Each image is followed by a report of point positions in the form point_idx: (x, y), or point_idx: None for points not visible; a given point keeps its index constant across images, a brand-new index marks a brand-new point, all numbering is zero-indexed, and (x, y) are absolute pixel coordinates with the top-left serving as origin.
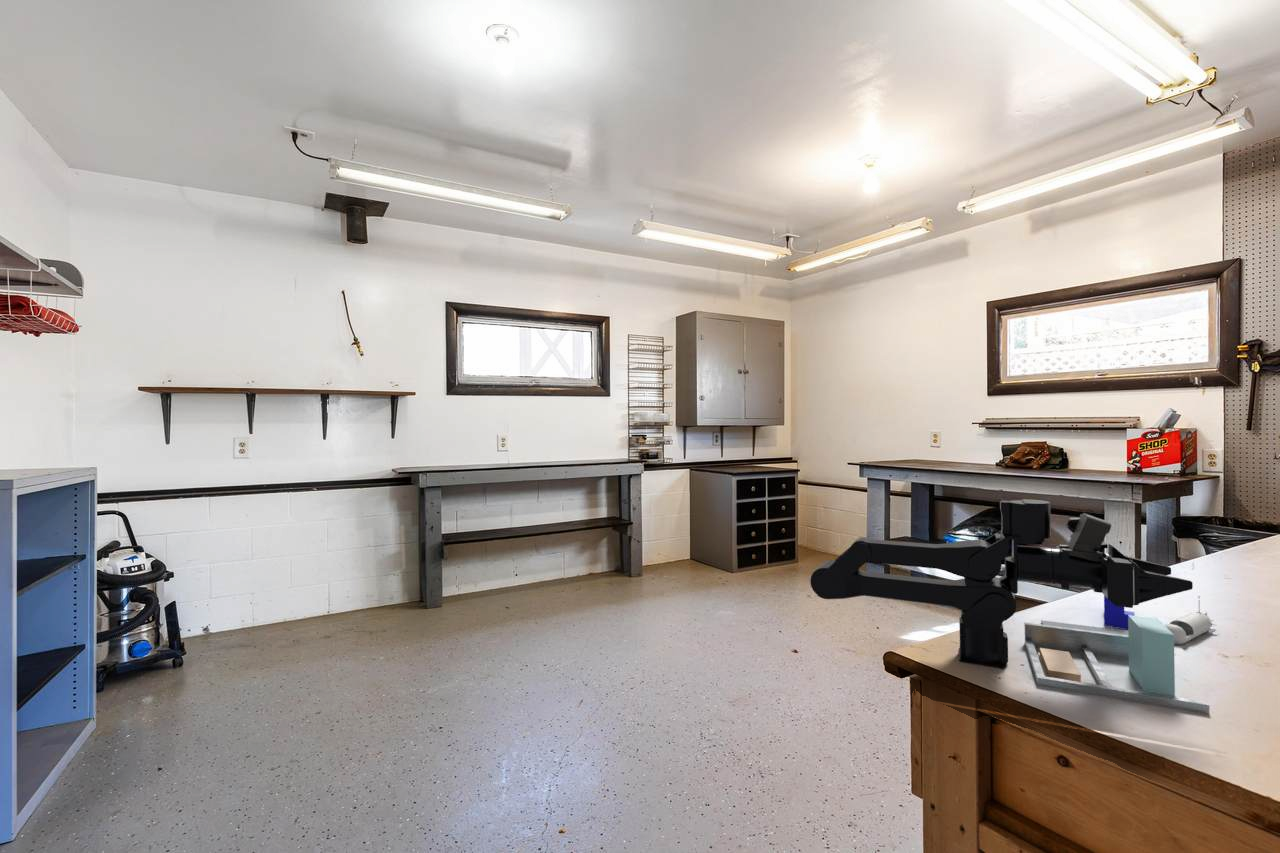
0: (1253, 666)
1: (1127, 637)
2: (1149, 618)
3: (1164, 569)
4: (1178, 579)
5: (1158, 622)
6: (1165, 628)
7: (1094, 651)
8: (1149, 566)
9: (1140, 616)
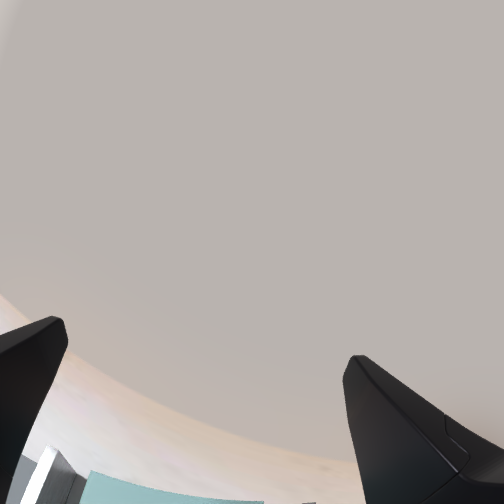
0: (68, 364)
1: (37, 501)
2: (96, 490)
3: (53, 339)
4: (399, 381)
5: (136, 491)
6: (198, 501)
7: None
8: (16, 366)
9: (81, 501)
